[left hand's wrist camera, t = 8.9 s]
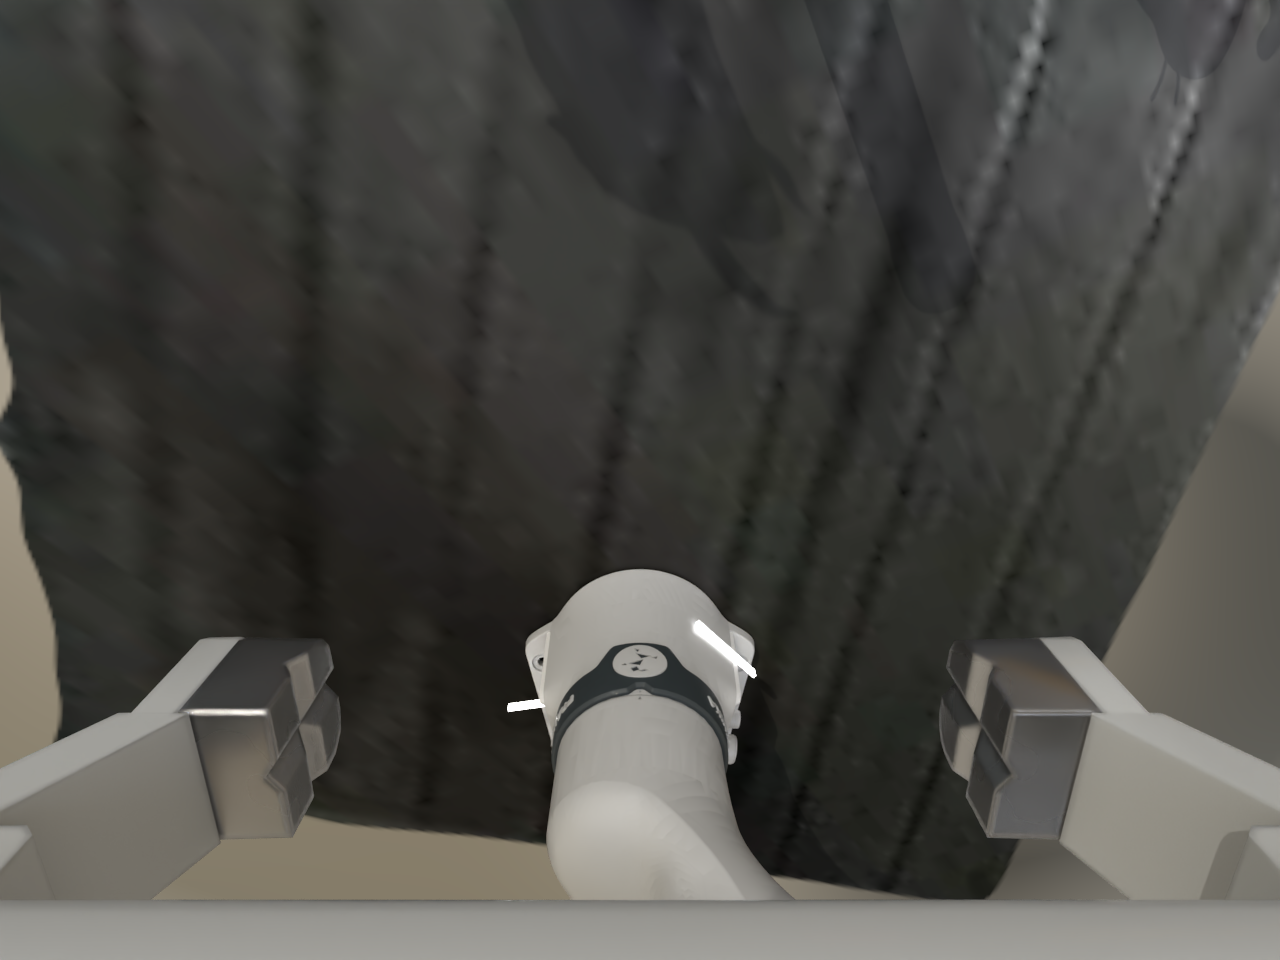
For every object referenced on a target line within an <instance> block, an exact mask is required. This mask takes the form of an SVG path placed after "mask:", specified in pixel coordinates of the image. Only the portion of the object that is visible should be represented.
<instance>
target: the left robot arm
mask: <svg viewBox="0 0 1280 960" xmlns="http://www.w3.org/2000/svg"><path fill="white" fill-rule="evenodd" d="M754 651H755V649H754V640H753V638H752V637H751V636H750V635H749V634H748V633H747V632H745V631H744V630H742V629H741V628H739V627H737V626H735V625H734V624H732V623H730V622H728V621H727V620H726V619H725V618H724V617H723V616H722V614H721V613H720V612H719V610H718V609H717V607H716V606H715V605H714V603H713V602H712V601H711V600H710V598H709V597H708V596H707V595H706V594H705V593H703V592H702V591H701V590H700V589H699V588H697V587H696V586H695V585H693V584H691V583H690V582H688V581H686V580H684V579H682V578H680V577H678V576H675V575H672V574H669V573H666V572H661V571H656V570H648V569H632V570H624V571H619V572H614V573H611V574H608V575H605V576H602V577H600V578H598V579H596V580H594V581H592V582H590V583H589V584H587V585H585V586H584V587H583V588H581V589H580V590H579V591H578V592H577V593H575V594H574V595H573V596H572V597H571V598H570V600H569V601H568V602H567V603H566V605H565V606H564V607H563V609H562V610H561V612H560V613H559V614H558V616H557V617H556V618H555V619H554V620H553V621H552V622H550V623H548V624H546V625H545V626H543V627H541V628H540V629H538V630H536V631H535V632H534V633H532V634H531V635H530V636H529V637H528V638H527V640H526V656H527V659H528V663H529V666H530V670H531V673H532V677H533V680H534V683H535V687H536V690H537V694H538V697H539V700H532V701H524V702H517V703H510V704H508V712H509V711H516V710H524V709H531V708H538V707H542V711H543V714H544V717H545V721H546V724H547V728H548V731H549V734H550V738H551V746H552V753H551V754H552V767H553V772H554V775H555V776H554V784H553V791H552V798H551V805H550V813H549V820H548V828H547V850H548V856H549V859H550V862H551V866H552V868H553V871H554V873H555V875H556V877H557V879H558V880H559V882H560V884H561V885H562V887H563V889H564V890H565V892H566V893H567V894H568V896H569V897H570V899H571V900H151V899H152V898H153V897H155V896H156V895H157V894H158V893H160V892H161V891H162V890H163V889H165V888H166V887H167V886H168V885H170V884H171V883H172V882H173V881H174V880H176V879H177V878H178V877H179V876H181V875H182V874H183V873H184V872H186V871H187V870H188V869H189V868H191V867H192V866H193V865H194V864H196V863H197V862H198V861H199V860H200V859H202V858H203V857H204V856H205V855H207V854H208V853H209V852H210V851H212V850H213V849H214V848H215V847H217V846H218V845H219V844H220V840H221V839H256V838H291V837H293V835H294V834H295V831H296V830H297V828H298V826H299V824H300V822H301V820H302V818H303V816H304V814H305V813H306V811H307V809H308V807H309V805H310V803H311V801H312V799H313V797H314V793H313V788H312V782H311V781H312V780H314V779H315V778H317V777H318V776H320V775H321V774H323V773H324V772H326V771H327V770H328V768H329V766H330V764H331V762H332V760H333V758H334V756H335V754H336V750H337V745H338V740H339V736H340V731H341V711H340V705H339V698H338V696H337V695H336V694H335V693H334V692H333V691H332V690H331V689H330V688H329V687H328V686H327V685H326V684H325V681H326V679H327V678H328V676H329V674H330V673H331V671H332V669H333V663H332V658H331V653H330V648H329V645H328V644H327V643H326V642H325V641H324V640H323V639H298V638H249V637H248V638H243V637H210V638H206V639H201V640H199V641H198V642H197V643H196V644H195V645H194V647H193V648H192V649H191V650H190V651H189V652H188V653H187V654H186V655H185V656H184V657H183V658H182V659H181V660H180V661H179V663H178V664H177V665H176V666H175V667H174V668H173V669H172V670H171V671H170V672H169V673H168V674H167V675H166V676H165V677H164V678H163V680H162V681H161V682H160V683H159V684H158V685H157V686H156V687H155V688H154V689H153V690H152V691H151V692H150V693H149V694H148V696H147V697H146V698H145V699H144V700H143V701H142V702H141V703H140V704H139V705H138V706H137V707H136V708H135V709H134V710H133V712H132V713H117V714H115V715H113V716H111V717H109V718H107V719H105V720H102V721H100V722H98V723H96V724H94V725H92V726H90V727H87V728H85V729H83V730H81V731H79V732H77V733H75V734H73V735H70V736H68V737H66V738H64V739H62V740H60V741H58V742H56V743H53V744H51V745H49V746H47V747H45V748H43V749H41V750H38V751H36V752H34V753H32V754H30V755H28V756H26V757H24V758H21V759H19V760H17V761H15V762H13V763H11V764H9V765H7V766H4V767H2V768H0V960H1280V769H1279V768H1277V767H1275V766H1273V765H1271V764H1269V763H1267V762H1265V761H1263V760H1260V759H1258V758H1256V757H1254V756H1252V755H1250V754H1248V753H1245V752H1243V751H1241V750H1239V749H1237V748H1235V747H1233V746H1231V745H1229V744H1226V743H1224V742H1222V741H1220V740H1218V739H1216V738H1214V737H1211V736H1209V735H1207V734H1205V733H1203V732H1201V731H1199V730H1197V729H1195V728H1192V727H1190V726H1188V725H1186V724H1184V723H1182V722H1180V721H1178V720H1175V719H1173V718H1171V717H1169V716H1167V715H1165V714H1163V713H1148V711H1147V710H1146V709H1145V708H1144V707H1143V706H1142V705H1141V704H1140V703H1139V702H1138V701H1137V700H1136V699H1135V698H1134V697H1133V695H1132V694H1131V693H1130V692H1129V691H1128V690H1127V689H1126V688H1125V687H1124V686H1123V685H1122V684H1121V683H1120V682H1119V681H1118V679H1117V678H1116V677H1115V676H1114V675H1113V674H1112V673H1111V672H1110V671H1109V670H1108V669H1107V668H1106V667H1105V666H1104V665H1103V663H1102V662H1101V661H1100V660H1099V659H1098V658H1097V657H1096V656H1095V655H1094V654H1093V653H1092V652H1091V651H1090V650H1089V649H1088V647H1087V646H1086V645H1085V644H1084V643H1083V642H1082V641H1080V640H1078V639H1076V638H1073V637H1049V638H1029V639H988V640H955V641H954V643H953V645H952V647H951V649H950V651H949V657H948V662H947V669H948V671H949V673H950V674H951V676H952V678H953V679H954V681H955V684H954V685H953V686H952V687H951V688H950V689H949V690H948V691H947V692H946V693H945V694H944V695H943V696H942V698H941V706H940V714H939V726H940V737H941V743H942V746H943V749H944V753H945V756H946V758H947V760H948V762H949V764H950V766H951V768H952V770H953V771H954V772H956V773H957V774H959V775H960V776H962V777H963V778H965V779H966V780H968V781H969V782H968V788H967V793H966V797H967V799H968V801H969V803H970V805H971V807H972V809H973V811H974V812H975V814H976V816H977V818H978V820H979V822H980V824H981V826H982V828H983V830H984V831H985V833H986V835H987V837H988V838H1023V839H1059V840H1060V841H1059V843H1060V844H1061V845H1063V846H1064V847H1065V848H1066V849H1068V850H1069V851H1070V852H1071V853H1072V854H1074V855H1075V856H1076V857H1077V858H1079V859H1080V860H1081V861H1082V862H1084V863H1085V864H1086V865H1087V866H1088V867H1090V868H1091V869H1092V870H1093V871H1095V872H1096V873H1097V874H1098V875H1100V876H1101V877H1102V878H1103V879H1105V880H1106V881H1107V882H1108V883H1109V884H1111V885H1112V886H1113V887H1114V888H1116V889H1117V890H1118V891H1119V892H1121V893H1122V894H1123V895H1124V896H1126V897H1127V898H1128V899H1129V900H795V899H794V898H793V897H792V896H790V895H789V894H788V893H787V892H786V891H785V890H784V889H783V888H782V887H781V886H780V885H779V884H778V883H777V882H776V881H775V880H774V879H773V878H772V877H771V876H770V875H769V874H768V872H767V871H766V870H765V869H764V868H763V867H762V866H761V864H760V863H759V862H758V861H757V859H756V858H755V857H754V856H753V854H752V853H751V851H750V850H749V848H748V847H747V845H746V844H745V842H744V840H743V838H742V836H741V834H740V832H739V829H738V826H737V823H736V819H735V816H734V812H733V808H732V804H731V800H730V796H729V791H728V786H727V781H726V772H727V767H728V764H733V763H734V762H735V759H736V754H737V738H736V736H734V735H733V734H731V731H732V728H733V729H735V728H736V729H738V728H739V726H740V720H741V714H740V711H738V707H739V704H740V700H741V697H742V694H743V690H744V687H745V683H746V680H747V677H748V674H749V675H750V676H752V677H753V678H754V677H755V676H756V673H755V669H754V668H753V667H751V663H752V660H753V656H754ZM542 657H544V660H543V661H541V660H540V659H539V658H542Z"/></svg>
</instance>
